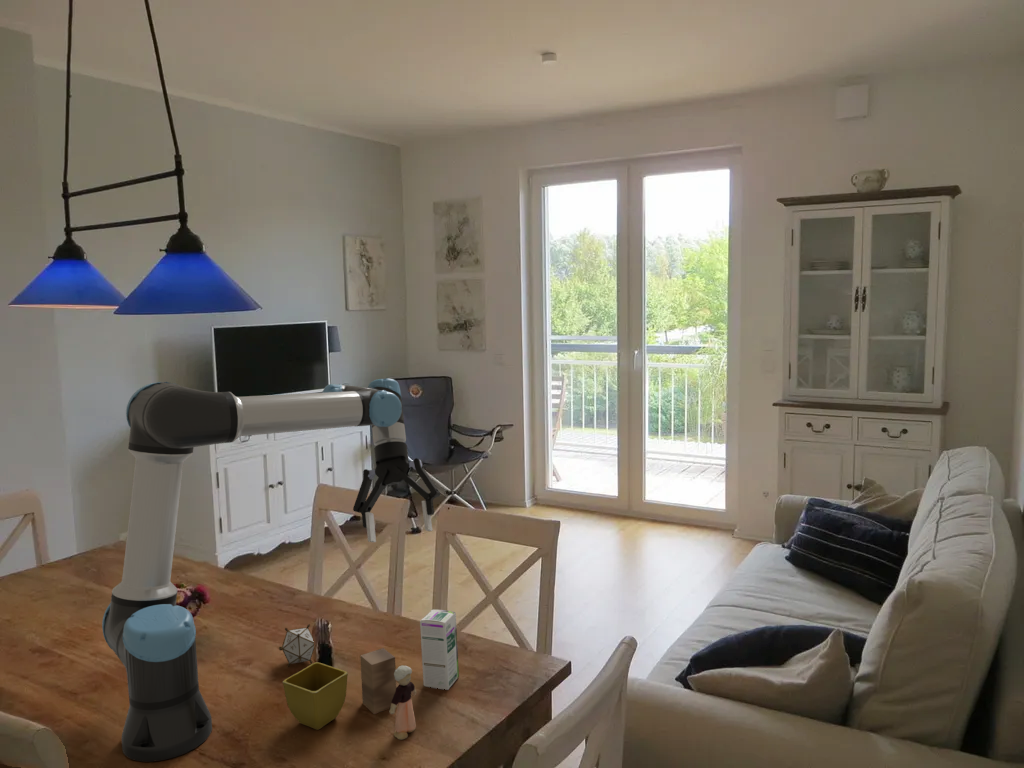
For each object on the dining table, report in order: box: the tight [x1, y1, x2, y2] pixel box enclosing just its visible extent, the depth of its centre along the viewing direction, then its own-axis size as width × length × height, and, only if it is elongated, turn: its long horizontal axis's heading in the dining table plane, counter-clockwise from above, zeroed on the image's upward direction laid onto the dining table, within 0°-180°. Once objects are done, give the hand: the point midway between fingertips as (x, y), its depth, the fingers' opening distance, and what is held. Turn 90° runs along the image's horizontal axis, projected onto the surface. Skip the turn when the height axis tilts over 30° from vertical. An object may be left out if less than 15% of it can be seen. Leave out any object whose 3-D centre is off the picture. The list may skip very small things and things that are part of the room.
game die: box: [278, 623, 315, 668], centre depth 169 cm, size 9×8×10 cm
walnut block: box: [359, 647, 397, 715], centre depth 151 cm, size 5×5×10 cm
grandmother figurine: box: [388, 665, 417, 740], centre depth 141 cm, size 8×4×13 cm, turn 164°
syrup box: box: [419, 609, 460, 691], centre depth 158 cm, size 6×6×14 cm
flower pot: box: [281, 661, 349, 730], centre depth 145 cm, size 9×9×9 cm
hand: (400, 536), depth 171 cm, fingers open, 13 cm apart
